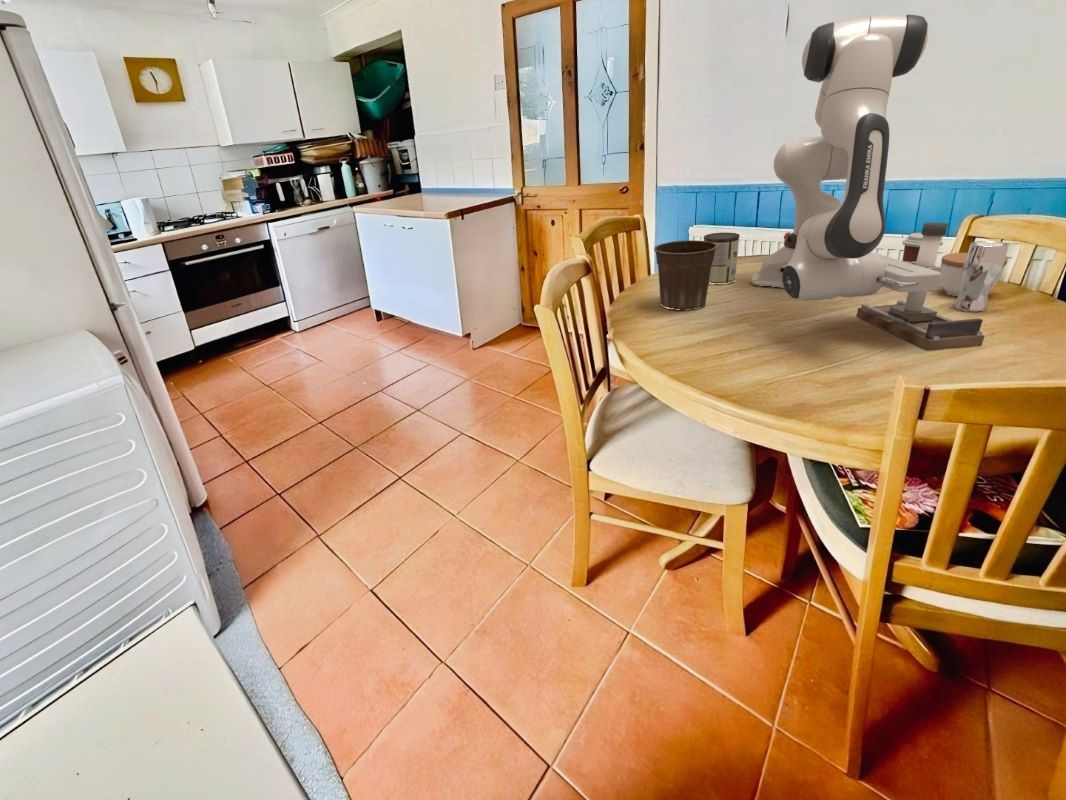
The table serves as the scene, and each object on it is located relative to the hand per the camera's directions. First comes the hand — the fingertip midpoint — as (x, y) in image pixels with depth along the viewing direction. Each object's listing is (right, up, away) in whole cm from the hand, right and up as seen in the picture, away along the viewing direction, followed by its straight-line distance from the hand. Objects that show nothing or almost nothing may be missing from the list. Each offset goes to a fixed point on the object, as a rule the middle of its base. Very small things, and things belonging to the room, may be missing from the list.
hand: (928, 268), depth 106 cm
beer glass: (+20, -6, +13) cm, 25 cm away
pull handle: (0, -10, +5) cm, 11 cm away
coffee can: (-25, +10, +53) cm, 59 cm away
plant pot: (-42, -1, +34) cm, 54 cm away
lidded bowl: (+27, -1, +23) cm, 35 cm away
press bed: (0, -12, +5) cm, 13 cm away
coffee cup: (+26, +7, +38) cm, 47 cm away
